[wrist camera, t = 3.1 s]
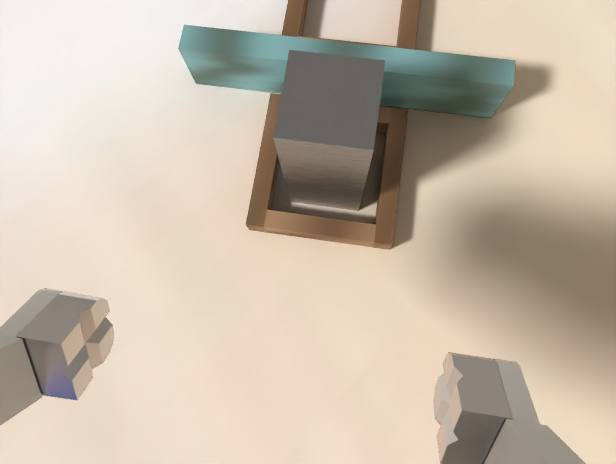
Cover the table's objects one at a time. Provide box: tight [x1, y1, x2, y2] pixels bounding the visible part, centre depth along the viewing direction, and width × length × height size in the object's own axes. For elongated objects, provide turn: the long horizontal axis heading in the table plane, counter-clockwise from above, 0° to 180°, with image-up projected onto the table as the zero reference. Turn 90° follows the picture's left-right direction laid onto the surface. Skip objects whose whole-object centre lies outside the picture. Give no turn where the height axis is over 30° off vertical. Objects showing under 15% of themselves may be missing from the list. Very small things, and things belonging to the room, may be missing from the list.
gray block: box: [273, 50, 385, 211], centre depth 23 cm, size 4×4×8 cm
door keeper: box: [178, 0, 515, 249], centre depth 26 cm, size 18×19×4 cm
